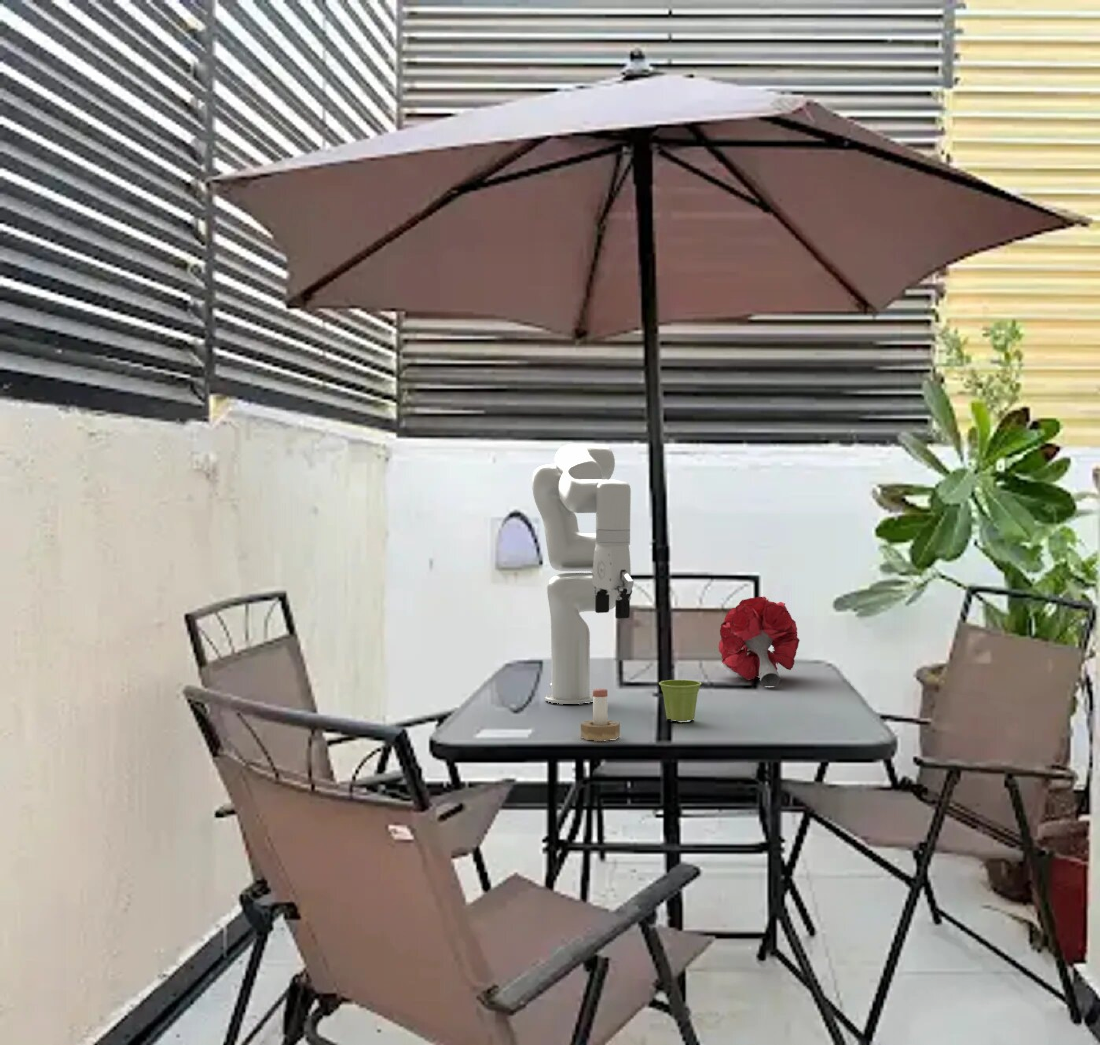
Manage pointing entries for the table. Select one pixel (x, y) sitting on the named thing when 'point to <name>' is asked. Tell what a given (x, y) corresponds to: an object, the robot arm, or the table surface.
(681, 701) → the plant pot
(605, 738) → the bead
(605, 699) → the pink-tipped cream rod
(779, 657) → the bouquet
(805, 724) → the table surface
